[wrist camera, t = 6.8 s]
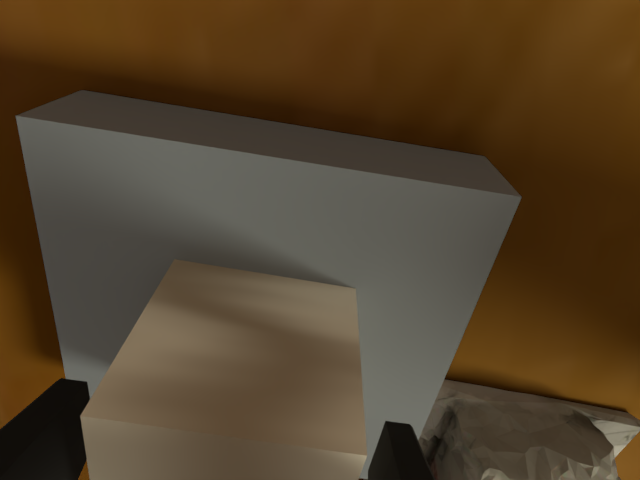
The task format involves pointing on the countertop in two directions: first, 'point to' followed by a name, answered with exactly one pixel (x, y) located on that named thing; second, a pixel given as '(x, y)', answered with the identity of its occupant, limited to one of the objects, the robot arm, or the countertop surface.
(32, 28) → the countertop surface
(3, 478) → the robot arm
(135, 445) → the birch block
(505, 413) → the packaged product
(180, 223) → the gray plinth
